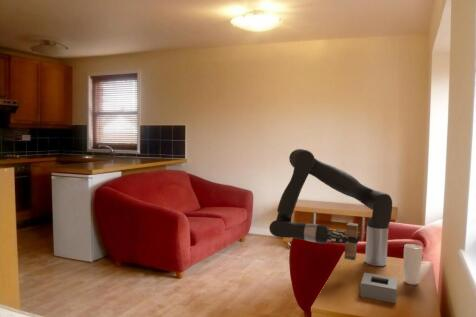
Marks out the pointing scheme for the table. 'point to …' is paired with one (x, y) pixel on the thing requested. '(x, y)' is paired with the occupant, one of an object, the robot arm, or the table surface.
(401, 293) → the table surface
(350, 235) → the tall brown pillar
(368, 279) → the box
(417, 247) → the drinking glass
